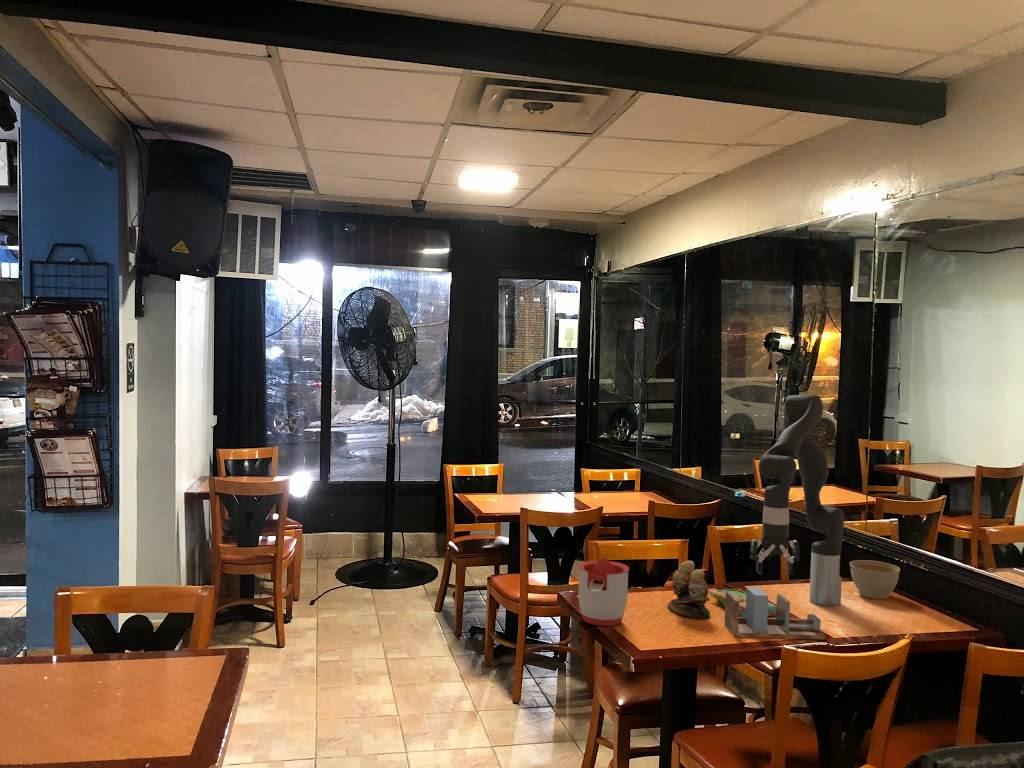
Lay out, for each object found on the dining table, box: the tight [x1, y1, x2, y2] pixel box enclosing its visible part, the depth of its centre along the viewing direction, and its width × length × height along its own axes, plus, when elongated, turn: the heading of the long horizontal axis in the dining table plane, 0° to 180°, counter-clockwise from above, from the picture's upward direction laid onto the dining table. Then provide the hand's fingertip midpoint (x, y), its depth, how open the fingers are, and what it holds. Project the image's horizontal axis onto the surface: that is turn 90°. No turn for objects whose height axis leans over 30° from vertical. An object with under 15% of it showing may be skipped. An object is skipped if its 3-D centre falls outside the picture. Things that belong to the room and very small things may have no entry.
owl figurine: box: [667, 560, 711, 621], centre depth 245 cm, size 18×12×17 cm, turn 21°
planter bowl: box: [849, 559, 901, 600], centre depth 271 cm, size 16×16×11 cm
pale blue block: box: [745, 587, 769, 632], centre depth 229 cm, size 4×8×11 cm, turn 0°
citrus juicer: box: [578, 556, 630, 627], centre depth 233 cm, size 16×17×20 cm
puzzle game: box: [708, 588, 776, 617], centre depth 251 cm, size 12×5×20 cm
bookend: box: [775, 593, 822, 632], centre depth 229 cm, size 11×8×9 cm
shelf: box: [724, 591, 826, 640], centre depth 229 cm, size 27×10×11 cm, turn 90°
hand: (774, 574), depth 229 cm, fingers open, 8 cm apart
